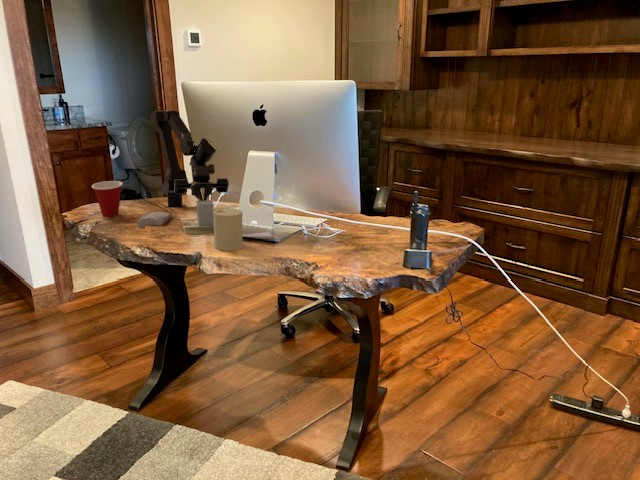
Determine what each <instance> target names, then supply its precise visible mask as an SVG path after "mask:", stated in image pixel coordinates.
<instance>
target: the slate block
mask: <svg viewBox="0 0 640 480" xmlns="http://www.w3.org/2000/svg"><path fill="white" fill-rule="evenodd" d="M213 212H214V203H213V200H212V199H207V201H199V200H196V215H197V216H196V217H197V223H198V226H214V215H213Z"/></svg>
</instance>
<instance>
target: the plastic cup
mask: <svg viewBox="0 0 640 480" xmlns="http://www.w3.org/2000/svg"><path fill="white" fill-rule="evenodd" d="M122 186H123V182H122V181H118V180H108V181H100V182H96V183H93V184H92V185H91V188H92V189H93V190H94V194H95V195H96V198H97V204H98V207H99V208H100V212H101V215H102V216H103V217H115V216H118V215H119V212H120V202H121V192H122Z"/></svg>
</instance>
